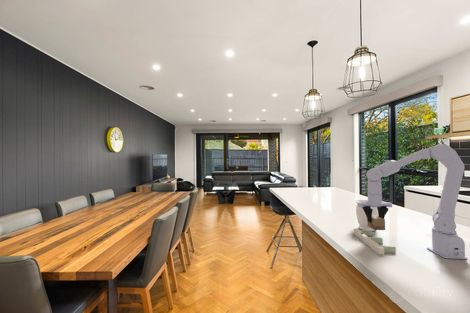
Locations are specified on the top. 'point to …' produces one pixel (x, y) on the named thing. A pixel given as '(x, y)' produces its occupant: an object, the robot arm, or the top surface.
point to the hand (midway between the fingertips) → (375, 222)
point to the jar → (364, 216)
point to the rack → (374, 242)
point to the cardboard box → (377, 223)
